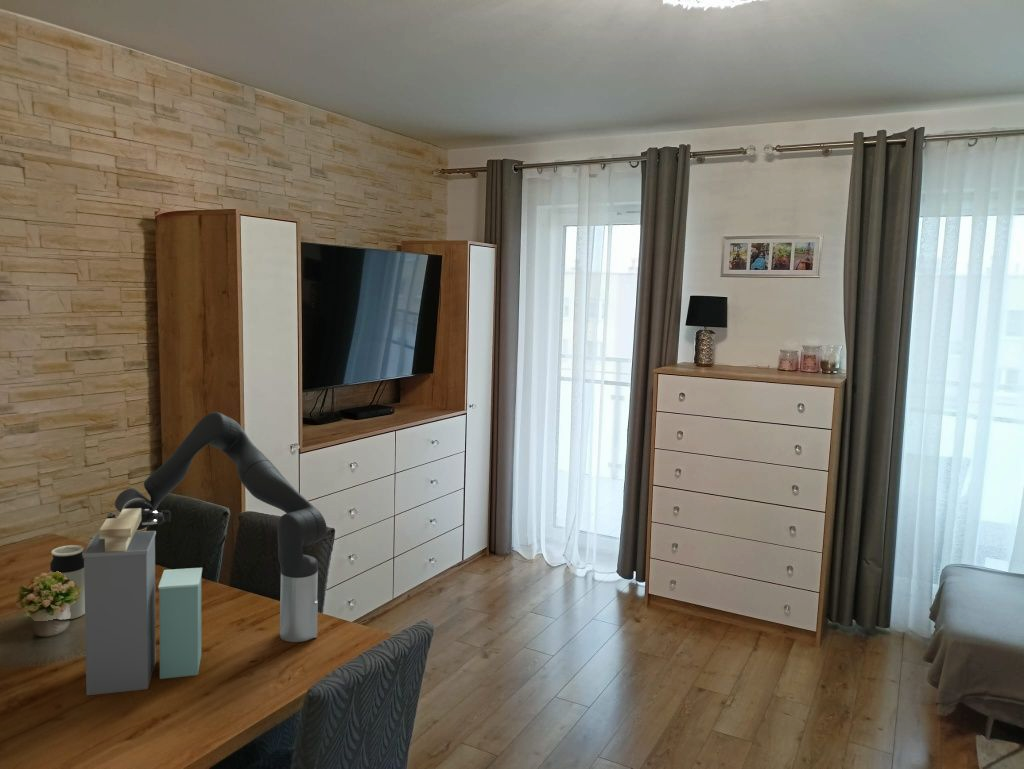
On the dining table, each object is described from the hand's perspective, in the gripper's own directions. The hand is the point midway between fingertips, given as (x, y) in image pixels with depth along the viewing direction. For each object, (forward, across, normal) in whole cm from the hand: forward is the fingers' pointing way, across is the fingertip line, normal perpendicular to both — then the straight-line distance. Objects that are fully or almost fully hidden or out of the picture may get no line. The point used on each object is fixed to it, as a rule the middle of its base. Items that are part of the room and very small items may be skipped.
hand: (140, 521), depth 181 cm
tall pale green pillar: (+10, +8, +33) cm, 36 cm away
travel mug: (-30, -16, +28) cm, 43 cm away
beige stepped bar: (+11, -4, +1) cm, 11 cm away
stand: (+10, -4, +34) cm, 35 cm away
